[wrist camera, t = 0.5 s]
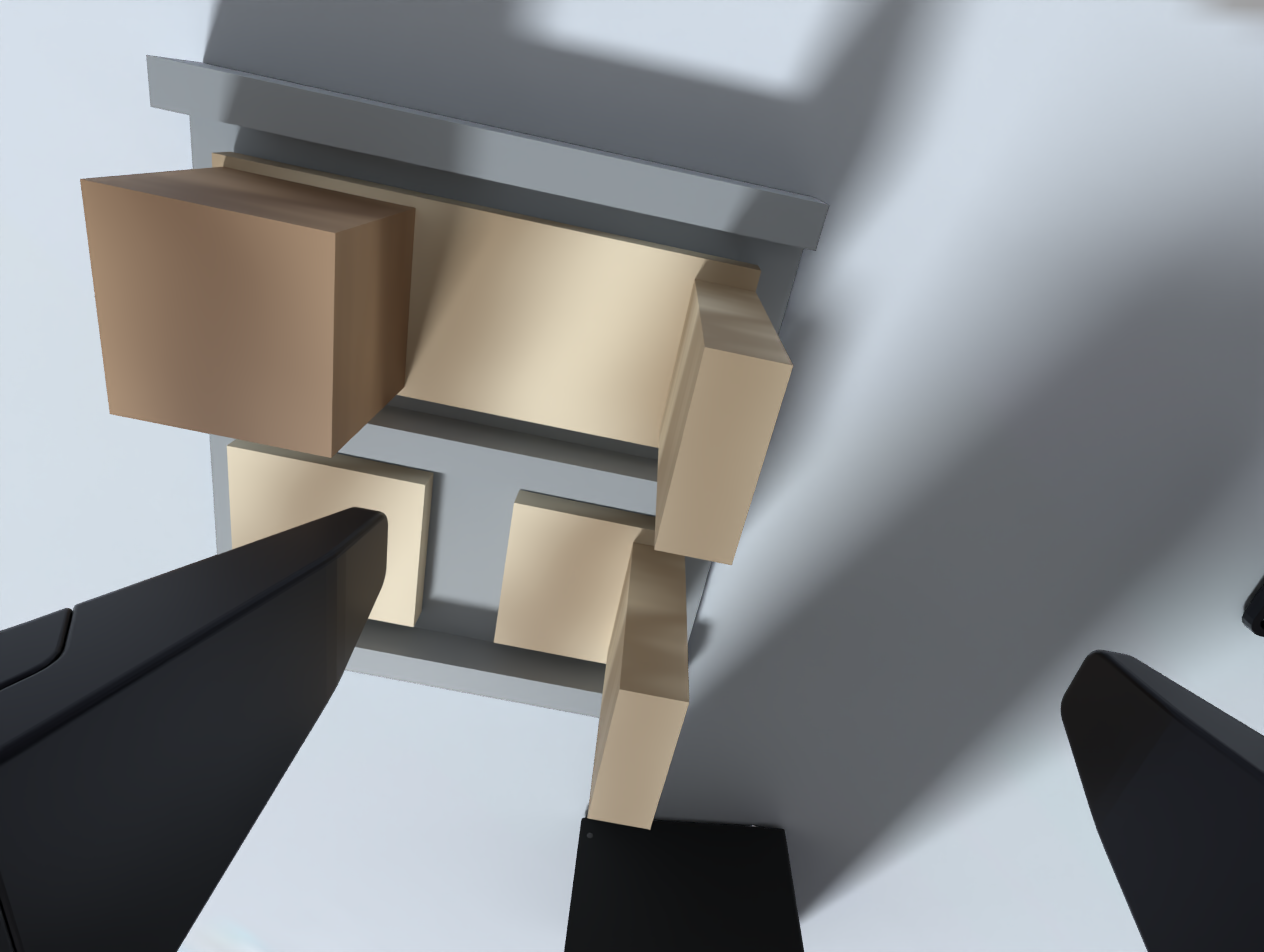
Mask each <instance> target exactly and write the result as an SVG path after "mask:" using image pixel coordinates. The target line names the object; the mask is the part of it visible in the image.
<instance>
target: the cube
mask: <svg viewBox="0 0 1264 952" xmlns="http://www.w3.org/2000/svg"><path fill="white" fill-rule="evenodd" d="M80 182H81V190H82V197H83V205H84V213H85V221H86V229H87V237H88V245H89V253H90V260H91V268H92V276H93V284H94V292H95V300H96V308H97V316H98V323H99V331H100V339H101V347H102V355H103V363H104V371H105V379H106V387H107V394H108V402H109V410H110V414H113V415H118V416H123V417H128V418H133V419H138V420H143V421H148V422H153V423H158V424H163V425H168V426H173V427H178V428H183V429H188V430H193V431H198V432H203V433H208V434H213V435H218V436H223V437H228V438H233V439H238V440H243V441H248V442H253V443H258V444H263V445H268V446H274V447H279V448H284V449H289V450H294V451H299V452H304V453H309V454H314V455H319V456H324V457H329V458H332V457H333V456H334V455H335V454H336V453H337V452H338V451H339V450H340V449H341V448H342V447H343V446H344V445H345V444H346V443H347V442H348V441H349V440H350V439H351V438H352V437H354V436H355V435H356V434H357V433H358V432H359V431H360V430H361V429H362V428H363V427H364V426H365V425H366V424H367V423H368V422H369V421H370V420H371V419H372V418H373V417H374V416H375V415H376V414H377V413H378V412H379V411H380V410H381V409H382V408H383V407H384V406H385V405H387V404H388V403H389V402H390V401H391V400H392V399H393V398H394V397H395V396H396V395H397V394H398V393H399V392H400V391H401V390H402V389H403V388H404V384H405V368H406V352H407V337H408V321H409V305H410V289H411V274H412V258H413V242H414V227H415V211H416V208H414V207H409V206H404V205H400V204H395V203H390V202H386V201H381V200H376V199H372V198H367V197H362V196H358V195H353V194H348V193H344V192H339V191H334V190H330V189H325V188H320V187H316V186H311V185H306V184H302V183H297V182H292V181H288V180H283V179H278V178H274V177H269V176H264V175H260V174H255V173H250V172H246V171H241V170H236V169H232V168H227V167H213V168H201V169H190V170H178V171H167V172H155V173H144V174H132V175H121V176H109V177H98V178H86V179H80Z"/></svg>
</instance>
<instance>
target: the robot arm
mask: <svg viewBox="0 0 1264 952" xmlns="http://www.w3.org/2000/svg"><path fill="white" fill-rule="evenodd" d="M387 545H388V519H387V516H386V515H385V514H384V513H383V512H380V511H376V510H370V509H365V508H360V507H351V508H348V509H345V510H342V511H339V512H336V513H334V514H331V515H328V516H325V517H322V518H319V519H317V520H314V521H311V522H308V523H305V524H302V525H300V526H297V527H294V528H291V529H288V530H286V531H283V532H280V533H277V534H274V535H271V536H269V537H266V538H263V539H260V540H257V541H254V542H252V543H249V544H246V545H243V546H240V547H237V548H235V549H232V550H229V551H226V552H223V553H221V554H218V555H215V556H212V557H209V558H206V559H204V560H201V561H198V562H195V563H192V564H189V565H187V566H184V567H181V568H178V569H175V570H172V571H170V572H167V573H164V574H161V575H158V576H156V577H153V578H150V579H147V580H144V581H141V582H139V583H136V584H133V585H130V586H127V587H124V588H122V589H119V590H116V591H113V592H110V593H107V594H105V595H102V596H99V597H96V598H93V599H91V600H88V601H85V602H82V603H79V604H77V605H75V606H74V608H73V611H72V610H71V609H70V608H64V609H62V610H59V611H56V612H53V613H51V614H48V615H45V616H42V617H39V618H37V619H34V620H31V621H28V622H25V623H22V624H19V625H16V626H14V627H11V628H8V629H5V630H2V631H0V952H177V951H178V949H179V947H180V946H181V944H182V942H183V941H184V939H185V938H186V936H187V934H188V933H189V931H190V929H191V928H192V926H193V924H194V923H195V921H196V919H197V918H198V916H199V914H200V913H201V911H202V909H203V908H204V906H205V905H206V903H207V901H208V900H209V898H210V896H211V895H212V893H213V891H214V890H215V888H216V886H217V885H218V883H219V881H220V880H221V878H222V876H223V875H224V873H225V871H226V870H227V868H228V867H229V865H230V863H231V862H232V860H233V858H234V857H235V855H236V853H237V852H238V850H239V848H240V847H241V845H242V843H243V842H244V840H245V838H246V837H247V835H248V834H249V832H250V830H251V829H252V827H253V825H254V824H255V822H256V820H257V819H258V817H259V815H260V814H261V812H262V810H263V809H264V807H265V805H266V804H267V802H268V801H269V799H270V797H271V796H272V794H273V792H274V791H275V789H276V787H277V786H278V784H279V782H280V781H281V779H282V777H283V776H284V774H285V772H286V771H287V769H288V767H289V766H290V764H291V763H292V761H293V759H294V758H295V756H296V754H297V753H298V751H299V749H300V748H301V746H302V744H303V743H304V741H305V739H306V738H307V736H308V734H309V733H310V731H311V730H312V728H313V726H314V725H315V723H316V721H317V720H318V718H319V716H320V715H321V713H322V711H323V710H324V708H325V706H326V705H327V703H328V701H329V699H330V698H331V696H332V694H333V692H334V691H335V689H336V687H337V685H338V683H339V681H340V679H341V677H342V675H343V673H344V670H345V668H346V666H347V664H348V662H349V659H350V657H351V655H352V653H353V651H354V648H355V646H356V644H357V642H358V639H359V637H360V635H361V633H362V631H363V628H364V626H365V624H366V622H367V620H368V617H369V615H370V613H371V611H372V608H373V606H374V604H375V602H376V600H377V597H378V595H379V593H380V591H381V588H382V586H383V583H384V580H385V575H386V568H387ZM1263 619H1264V584H1263V586H1262V587H1261V589H1260V590H1259V592H1258V593H1257V594H1256V596H1255V597H1254V599H1253V600H1252V602H1251V603H1250V604H1249V606H1248V607H1247V609H1246V610H1245V612H1244V614H1243V616H1242V622H1243V623H1244V625H1245V626H1246V627H1247V628H1249V629H1250V630H1251V631H1252V632H1253V633H1254V634H1256V635H1259V636H1262V637H1264V620H1263ZM1061 717H1062V721H1063V724H1064V727H1065V730H1066V734H1067V737H1068V740H1069V743H1070V746H1071V750H1072V753H1073V756H1074V759H1075V763H1076V766H1077V769H1078V772H1079V775H1080V779H1081V782H1082V785H1083V788H1084V791H1085V795H1086V798H1087V801H1088V804H1089V808H1090V811H1091V814H1092V817H1093V820H1094V823H1095V826H1096V829H1097V831H1098V834H1099V836H1100V839H1101V841H1102V844H1103V847H1104V849H1105V852H1106V854H1107V856H1108V859H1109V861H1110V863H1111V866H1112V868H1113V871H1114V873H1115V875H1116V878H1117V880H1118V882H1119V885H1120V887H1121V890H1122V892H1123V894H1124V897H1125V899H1126V901H1127V904H1128V906H1129V909H1130V911H1131V913H1132V916H1133V918H1134V920H1135V923H1136V925H1137V928H1138V930H1139V932H1140V935H1141V937H1142V939H1143V942H1144V944H1145V947H1146V949H1147V951H1148V952H1264V736H1263V735H1261V734H1260V733H1258V732H1256V731H1255V730H1253V729H1252V728H1250V727H1248V726H1247V725H1245V724H1243V723H1242V722H1240V721H1238V720H1237V719H1235V718H1233V717H1232V716H1230V715H1228V714H1227V713H1225V712H1223V711H1222V710H1220V709H1218V708H1217V707H1215V706H1214V705H1212V704H1210V703H1209V702H1207V701H1205V700H1204V699H1202V698H1200V697H1199V696H1197V695H1195V694H1194V693H1192V692H1190V691H1189V690H1187V689H1185V688H1184V687H1182V686H1180V685H1179V684H1177V683H1175V682H1174V681H1172V680H1171V679H1169V678H1167V677H1166V676H1164V675H1162V674H1161V673H1159V672H1157V671H1156V670H1154V669H1152V668H1151V667H1149V666H1147V665H1146V664H1144V663H1142V662H1141V661H1139V660H1137V659H1136V658H1134V657H1132V656H1130V655H1126V654H1122V653H1117V652H1111V651H1106V650H1096V651H1093V652H1091V653H1090V654H1089V655H1087V657H1086V658H1085V660H1084V661H1083V663H1082V665H1081V667H1080V668H1079V670H1078V672H1077V673H1076V675H1075V677H1074V679H1073V680H1072V682H1071V684H1070V685H1069V687H1068V689H1067V691H1066V692H1065V694H1064V696H1063V699H1062V702H1061Z"/></svg>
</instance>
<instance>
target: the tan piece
mask: <svg viewBox="0 0 1264 952" xmlns="http://www.w3.org/2000/svg"><path fill="white" fill-rule="evenodd" d="M213 167H227V168H232V169H236V170H241V171H246V172H250V173H255V174H260V175H264V176H269V177H274V178H278V179H283V180H288V181H292V182H297V183H302V184H306V185H311V186H316V187H320V188H325V189H330V190H334V191H339V192H344V193H348V194H353V195H358V196H362V197H367V198H372V199H376V200H381V201H386V202H390V203H395V204H400V205H404V206H409V207H414V208H416V211H415V227H414V242H413V258H412V274H411V289H410V305H409V321H408V337H407V352H406V368H405V384H404V388H403V389H402V390H401V391H400V392H399V393H398V394H397V395H400V396H405V397H410V398H415V399H420V400H425V401H430V402H435V403H440V404H445V405H450V406H454V407H459V408H464V409H469V410H474V411H479V412H484V413H489V414H494V415H499V416H504V417H508V418H513V419H518V420H523V421H528V422H533V423H538V424H543V425H548V426H553V427H558V428H563V429H567V430H572V431H577V432H582V433H587V434H592V435H597V436H602V437H607V438H612V439H617V440H621V441H626V442H631V443H636V444H641V445H646V446H651V447H656V448H659V450H658V473H657V497H656V521H655V544H654V550H658V551H663V552H668V553H673V554H678V555H683V556H688V557H693V558H698V559H703V560H708V561H713V562H718V563H723V564H728V565H732V562H733V559H734V556H735V553H736V549H737V546H738V543H739V540H740V536H741V533H742V530H743V527H744V523H745V520H746V517H747V514H748V511H749V507H750V504H751V501H752V498H753V494H754V491H755V488H756V485H757V481H758V478H759V475H760V472H761V468H762V465H763V462H764V459H765V455H766V452H767V449H768V446H769V442H770V439H771V436H772V433H773V429H774V426H775V423H776V420H777V417H778V413H779V410H780V407H781V404H782V400H783V397H784V394H785V391H786V387H787V384H788V381H789V378H790V374H791V371H792V368H793V364H792V362H791V360H790V358H789V356H788V354H787V352H786V350H785V348H784V347H783V345H782V343H781V341H780V339H779V337H778V335H777V333H776V331H775V329H774V327H773V325H772V323H771V321H770V319H769V317H768V315H767V313H766V311H765V309H764V307H763V305H762V303H761V301H760V299H759V297H758V295H757V293H756V289H757V285H758V281H759V278H760V274H761V270H760V268H759V266H758V265H755V264H750V263H746V262H741V261H736V260H732V259H727V258H722V257H718V256H713V255H708V254H704V253H699V252H694V251H690V250H685V249H680V248H676V247H671V246H667V245H662V244H657V243H653V242H648V241H643V240H639V239H634V238H629V237H625V236H620V235H615V234H611V233H606V232H602V231H597V230H592V229H588V228H583V227H578V226H574V225H569V224H564V223H560V222H555V221H550V220H546V219H541V218H537V217H532V216H527V215H523V214H518V213H513V212H509V211H504V210H499V209H495V208H490V207H485V206H481V205H476V204H471V203H467V202H462V201H458V200H453V199H448V198H444V197H439V196H434V195H430V194H425V193H420V192H416V191H411V190H406V189H402V188H397V187H393V186H388V185H383V184H379V183H374V182H369V181H365V180H360V179H355V178H351V177H346V176H341V175H337V174H332V173H327V172H323V171H318V170H314V169H309V168H304V167H300V166H295V165H290V164H286V163H281V162H276V161H272V160H267V159H262V158H258V157H253V156H249V155H244V154H239V153H235V152H215V153H212V168H213Z"/></svg>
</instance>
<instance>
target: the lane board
mask: <svg viewBox="0 0 1264 952" xmlns="http://www.w3.org/2000/svg"><path fill="white" fill-rule="evenodd" d="M146 57H147V69H148V81H149V93H150V105H151V107H154V108H159V109H163V110H168V111H173V112H177V113H182V114H187V115H189V116H190V132H191V148H192V164H193V169H201V168H212V153H215V152H235V153H239V154H244V155H249V156H253V157H258V158H262V159H267V160H272V161H276V162H281V163H286V164H290V165H295V166H300V167H304V168H309V169H314V170H318V171H323V172H327V173H332V174H337V175H341V176H346V177H351V178H355V179H360V180H365V181H369V182H374V183H379V184H383V185H388V186H393V187H397V188H402V189H406V190H411V191H416V192H420V193H425V194H430V195H434V196H439V197H444V198H448V199H453V200H458V201H462V202H467V203H471V204H476V205H481V206H485V207H490V208H495V209H499V210H504V211H509V212H513V213H518V214H523V215H527V216H532V217H537V218H541V219H546V220H550V221H555V222H560V223H564V224H569V225H574V226H578V227H583V228H588V229H592V230H597V231H602V232H606V233H611V234H615V235H620V236H625V237H629V238H634V239H639V240H643V241H648V242H653V243H657V244H662V245H667V246H671V247H676V248H680V249H685V250H690V251H694V252H699V253H704V254H708V255H713V256H718V257H722V258H727V259H732V260H736V261H741V262H746V263H750V264H755V265H758V266H759V268H760V270H761V274H760V278H759V281H758V285H757V289H756V293H757V295H758V297H759V299H760V301H761V303H762V305H763V307H764V309H765V311H766V313H767V315H768V317H769V319H770V321H771V323H772V325H773V327H774V329H775V331H776V333H777V335H778V334H779V331H780V327H781V324H782V320H783V317H784V313H785V310H786V307H787V303H788V300H789V296H790V293H791V290H792V286H793V283H794V279H795V276H796V273H797V269H798V266H799V262H800V259H801V256H802V252H803V249H809V250H814V251H816V248H817V245H818V241H819V238H820V235H821V231H822V228H823V225H824V221H825V218H826V215H827V211H828V208H829V205H828V204H826V203H824V202H822V201H820V200H818V199H816V198H814V197H810V196H806V195H801V194H797V193H792V192H788V191H783V190H779V189H774V188H769V187H765V186H760V185H756V184H751V183H747V182H742V181H738V180H733V179H728V178H724V177H719V176H715V175H710V174H706V173H701V172H697V171H692V170H688V169H683V168H678V167H674V166H669V165H665V164H660V163H656V162H651V161H647V160H642V159H638V158H633V157H628V156H624V155H619V154H615V153H610V152H606V151H601V150H597V149H592V148H588V147H583V146H578V145H574V144H569V143H565V142H560V141H556V140H551V139H547V138H542V137H538V136H533V135H528V134H524V133H519V132H515V131H510V130H506V129H501V128H497V127H492V126H488V125H483V124H478V123H474V122H469V121H465V120H460V119H456V118H451V117H447V116H442V115H437V114H433V113H428V112H424V111H419V110H415V109H410V108H406V107H401V106H397V105H392V104H387V103H383V102H378V101H374V100H369V99H365V98H360V97H356V96H351V95H347V94H342V93H337V92H333V91H328V90H324V89H319V88H315V87H310V86H306V85H301V84H297V83H292V82H287V81H283V80H278V79H274V78H269V77H265V76H260V75H256V74H251V73H247V72H242V71H237V70H233V69H228V68H224V67H219V66H215V65H210V64H206V63H201V62H194V61H186V60H179V59H172V58H165V57H157V56H150V55H146ZM234 440H235V439H233V438H228V437H223V436H218V435H213V434H210V450H211V466H212V482H213V497H214V513H215V529H216V545H217V555H218V554H221V553H223V552H226V551H229V550H232V538H231V519H230V499H229V480H228V461H227V445H228V444H230V443H231V442H233V441H234ZM658 450H659V448H656V447H651V446H646V445H641V444H636V443H631V442H626V441H621V440H617V439H612V438H607V437H602V436H597V435H592V434H587V433H582V432H577V431H572V430H567V429H563V428H558V427H553V426H548V425H543V424H538V423H533V422H528V421H523V420H518V419H513V418H508V417H504V416H499V415H494V414H489V413H484V412H479V411H474V410H469V409H464V408H459V407H454V406H450V405H445V404H440V403H435V402H430V401H425V400H420V399H415V398H410V397H405V396H400V395H396V396H395V397H394V398H393V399H392V400H391V401H390V402H389V403H388V404H387V405H385V406H384V407H383V408H382V409H381V410H380V411H379V412H378V413H377V414H376V415H375V416H374V417H373V418H372V419H371V420H370V421H369V422H368V423H367V424H366V425H365V426H364V427H363V428H362V429H361V430H360V431H359V432H358V433H357V434H356V435H355V436H354V437H352V438H351V439H350V440H349V441H348V442H347V443H346V444H345V445H344V446H343V447H342V448H341V449H340V450H339V451H338V452H337V454H342V455H347V456H352V457H357V458H362V459H367V460H372V461H377V462H382V463H387V464H392V465H397V466H402V467H407V468H412V469H417V470H422V471H427V472H432V473H434V475H433V487H432V498H431V509H430V521H429V532H428V544H427V555H426V567H425V578H424V590H423V601H422V612H421V614H420V616H419V618H418V619H417V621H416V623H415V625H414V627H410V626H404V625H399V624H394V623H389V622H383V621H378V620H373V619H368V620H367V622H366V624H365V626H364V628H363V631H362V633H361V635H360V637H359V639H358V642H357V644H356V646H355V648H354V651H353V653H352V655H351V657H350V659H349V662H348V664H347V666H346V668H345V670H346V671H352V672H357V673H362V674H368V675H373V676H378V677H384V678H389V679H394V680H400V681H405V682H410V683H416V684H421V685H426V686H432V687H437V688H442V689H448V690H453V691H458V692H464V693H469V694H474V695H480V696H485V697H490V698H496V699H501V700H506V701H512V702H517V703H522V704H528V705H533V706H538V707H544V708H549V709H554V710H560V711H565V712H570V713H576V714H581V715H586V716H592V717H597V718H600V710H601V702H602V694H603V686H604V678H605V670H606V664H604V663H599V662H593V661H588V660H583V659H578V658H572V657H567V656H562V655H557V654H551V653H546V652H541V651H536V650H530V649H525V648H520V647H515V646H509V645H504V644H499V643H494V637H495V630H496V623H497V616H498V610H499V603H500V596H501V589H502V582H503V575H504V568H505V561H506V554H507V547H508V540H509V533H510V527H511V520H512V513H513V506H514V501H515V499H516V497H517V494H518V492H519V490H523V491H528V492H533V493H538V494H543V495H548V496H553V497H558V498H563V499H568V500H573V501H578V502H583V503H588V504H593V505H598V506H603V507H608V508H613V509H618V510H623V511H628V512H633V513H638V514H643V515H648V516H653V517H656V497H657V473H658ZM711 562H712V561H708V560H703V559H698V558H693V557H688V556H685V576H686V610H687V643H688V641H689V637H690V634H691V631H692V627H693V624H694V620H695V617H696V613H697V610H698V607H699V603H700V600H701V596H702V593H703V590H704V586H705V583H706V579H707V576H708V573H709V569H710V566H711Z"/></svg>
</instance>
